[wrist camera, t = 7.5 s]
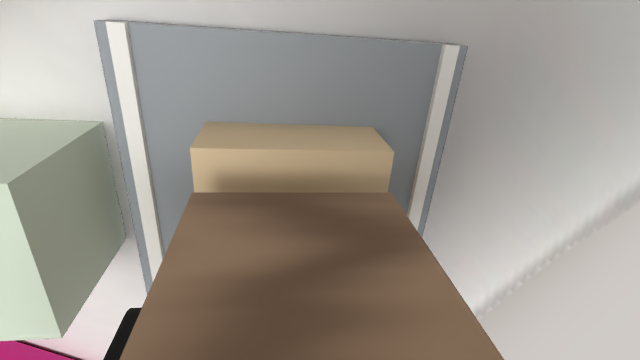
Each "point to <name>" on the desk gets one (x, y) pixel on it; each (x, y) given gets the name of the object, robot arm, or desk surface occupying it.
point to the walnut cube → (302, 285)
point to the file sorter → (25, 352)
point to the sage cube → (53, 223)
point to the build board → (271, 117)
